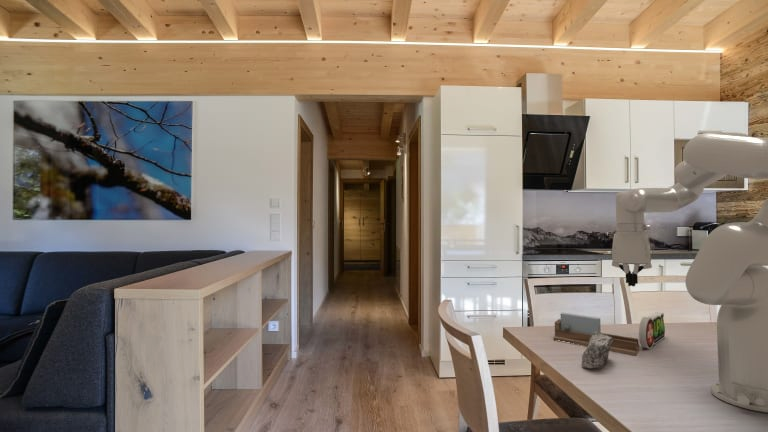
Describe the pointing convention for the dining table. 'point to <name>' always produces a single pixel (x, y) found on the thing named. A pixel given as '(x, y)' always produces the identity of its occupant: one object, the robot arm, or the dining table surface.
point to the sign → (651, 330)
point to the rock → (596, 351)
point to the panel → (580, 323)
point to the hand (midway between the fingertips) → (631, 285)
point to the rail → (617, 345)
